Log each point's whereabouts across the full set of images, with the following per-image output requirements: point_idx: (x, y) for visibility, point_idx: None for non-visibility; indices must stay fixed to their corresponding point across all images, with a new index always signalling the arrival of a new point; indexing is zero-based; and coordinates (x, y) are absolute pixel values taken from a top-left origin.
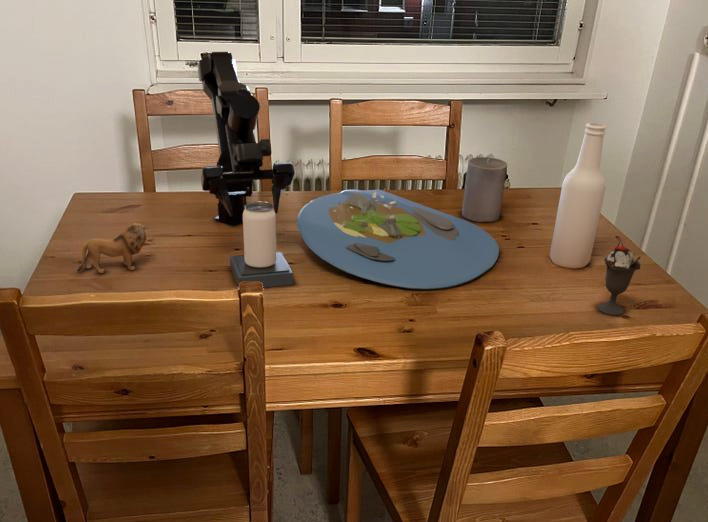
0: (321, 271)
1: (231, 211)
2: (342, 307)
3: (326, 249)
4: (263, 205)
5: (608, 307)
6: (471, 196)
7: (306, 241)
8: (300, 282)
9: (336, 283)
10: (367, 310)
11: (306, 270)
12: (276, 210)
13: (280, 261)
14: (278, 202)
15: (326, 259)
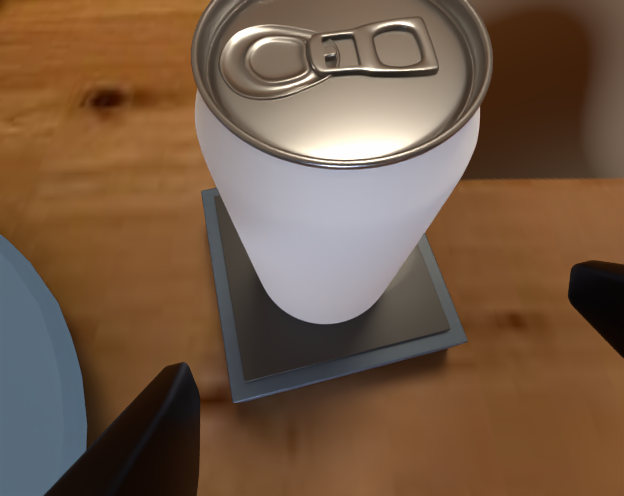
0: (93, 322)
1: (609, 266)
2: (96, 91)
3: (2, 344)
4: (295, 113)
5: None
6: None
7: (75, 422)
8: (187, 231)
9: (67, 225)
10: (35, 79)
11: (149, 330)
12: (177, 363)
13: (241, 272)
14: (112, 425)
15: (40, 289)
